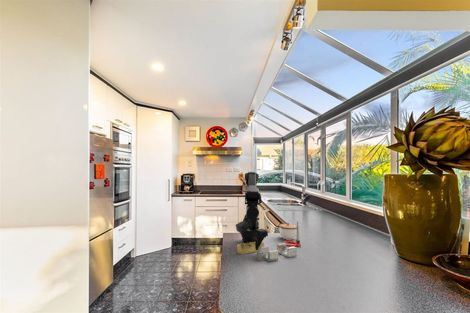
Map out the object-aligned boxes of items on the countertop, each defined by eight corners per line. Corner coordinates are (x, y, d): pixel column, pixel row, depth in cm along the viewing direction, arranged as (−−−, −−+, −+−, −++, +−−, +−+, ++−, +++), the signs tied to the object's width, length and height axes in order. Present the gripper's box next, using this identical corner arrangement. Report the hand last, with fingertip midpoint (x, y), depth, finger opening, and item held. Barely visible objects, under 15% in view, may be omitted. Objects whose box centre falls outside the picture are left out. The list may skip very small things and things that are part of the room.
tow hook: (284, 247, 127) (301, 247, 126) (283, 222, 128) (300, 222, 128) (281, 243, 135) (298, 243, 135) (281, 220, 136) (297, 220, 136)
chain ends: (252, 257, 107) (253, 248, 108) (288, 250, 120) (288, 242, 120) (264, 263, 101) (264, 253, 101) (300, 254, 114) (300, 246, 114)
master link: (236, 252, 113) (237, 243, 114) (259, 248, 121) (259, 239, 122) (241, 255, 111) (241, 245, 111) (263, 250, 118) (263, 241, 119)
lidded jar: (287, 235, 151) (288, 220, 152) (300, 239, 142) (300, 224, 143) (275, 237, 145) (275, 222, 146) (287, 241, 136) (288, 225, 137)
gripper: (228, 213, 121) (226, 244, 119) (250, 219, 105) (249, 255, 104) (245, 212, 127) (244, 242, 126) (269, 218, 112) (268, 252, 110)
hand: (250, 247), depth 116 cm, fingers open, 9 cm apart
